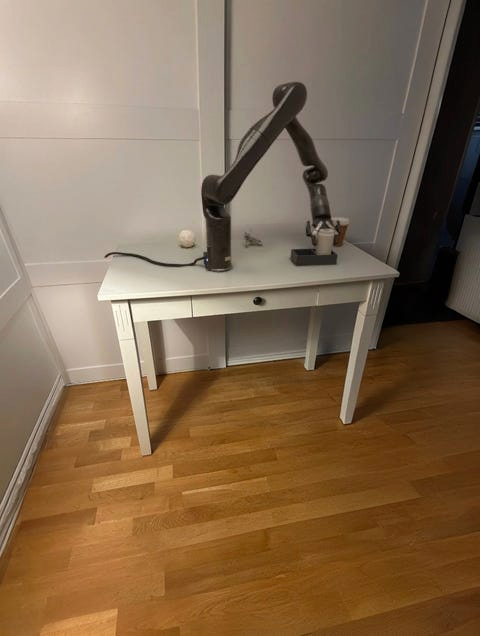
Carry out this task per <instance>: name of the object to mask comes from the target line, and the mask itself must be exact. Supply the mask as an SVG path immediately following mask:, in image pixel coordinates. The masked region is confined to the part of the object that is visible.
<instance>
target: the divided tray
mask: <svg viewBox="0 0 480 636" xmlns="http://www.w3.org/2000/svg"><path fill="white" fill-rule="evenodd" d="M315 251H316V247H315V248H314V247H313V248H291V249H290V258H289V259H290V260H291V262H292V263H293V264H294V266H295V267H304V266H306V267H307V266H326V265H327V266H332V265H333V266H335V265H337V262H338V254H337V253H336V252H335V251H334V250H333V249H332V251H331V255H317V254H316V253H315Z"/></svg>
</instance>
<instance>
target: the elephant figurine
mask: <svg viewBox="0 0 480 636" xmlns="http://www.w3.org/2000/svg"><path fill="white" fill-rule="evenodd" d="M251 232H252V228H251V229H249V233H248V232H247V231H245V232H244V235H243V240H245V243H246V244H245V248H247V247H248V245H249V243H250V244H256V245H258V246H262V244H263V243H262V242H263V240H262V239H259V238H257V237H254V236H253V235H252V236H251Z"/></svg>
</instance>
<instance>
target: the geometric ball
mask: <svg viewBox="0 0 480 636" xmlns="http://www.w3.org/2000/svg"><path fill="white" fill-rule="evenodd" d="M177 239H178V243H179V244H180V245H181V246H182V247H184V248H191V247H193V246H194V245H195V243H196V240H197V239H196V236H195V233H194V232H193V231H191V230H190V229H183V230H181V232H180V233H179V234H178V238H177Z"/></svg>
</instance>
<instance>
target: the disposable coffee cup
mask: <svg viewBox="0 0 480 636" xmlns="http://www.w3.org/2000/svg"><path fill="white" fill-rule="evenodd" d="M331 220H332V221H333V222H335V221H337V220H339V221H340V225H341V230H342V233H341V234H340V236H338V240H339V242H338V244H337V245H336V246H334V243H333V245H332V247H341V246H343V242H344V239H345V236H346V234H347V230H348V227H349V225H350V223H351V222H350V219H349V218H348V217H346V216H345V217H344V216H331ZM332 226H333V227H334V225H332ZM334 228H335V227H334ZM335 230H336V229H335Z"/></svg>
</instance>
